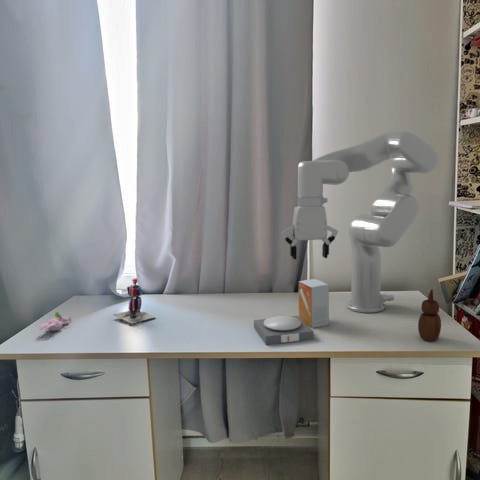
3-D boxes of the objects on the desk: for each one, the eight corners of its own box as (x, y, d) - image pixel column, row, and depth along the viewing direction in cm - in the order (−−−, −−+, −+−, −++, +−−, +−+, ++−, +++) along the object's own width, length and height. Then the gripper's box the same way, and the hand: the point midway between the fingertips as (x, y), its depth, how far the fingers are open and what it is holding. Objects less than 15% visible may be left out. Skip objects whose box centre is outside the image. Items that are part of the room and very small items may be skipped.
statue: (155, 322, 163) (156, 279, 159) (131, 329, 156) (132, 285, 153) (136, 311, 170) (136, 270, 167) (112, 318, 164) (112, 275, 160)
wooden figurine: (437, 345, 134) (439, 291, 131) (415, 341, 137) (417, 289, 134) (442, 336, 139) (444, 285, 137) (421, 333, 143) (422, 283, 140)
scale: (297, 323, 154) (297, 312, 153) (314, 340, 140) (314, 328, 139) (254, 327, 151) (253, 317, 151) (266, 345, 137) (266, 333, 136)
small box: (298, 320, 157) (298, 280, 154) (315, 317, 159) (315, 278, 157) (311, 328, 149) (311, 287, 147) (329, 325, 152) (329, 284, 149)
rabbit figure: (58, 325, 163) (33, 335, 148) (58, 307, 163) (32, 315, 148) (76, 326, 162) (52, 335, 147) (75, 308, 162) (52, 315, 147)
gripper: (334, 200, 153) (333, 254, 156) (279, 201, 151) (279, 256, 154) (341, 202, 146) (340, 259, 148) (284, 204, 144) (284, 261, 147)
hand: (309, 257), depth 151 cm, fingers open, 9 cm apart
